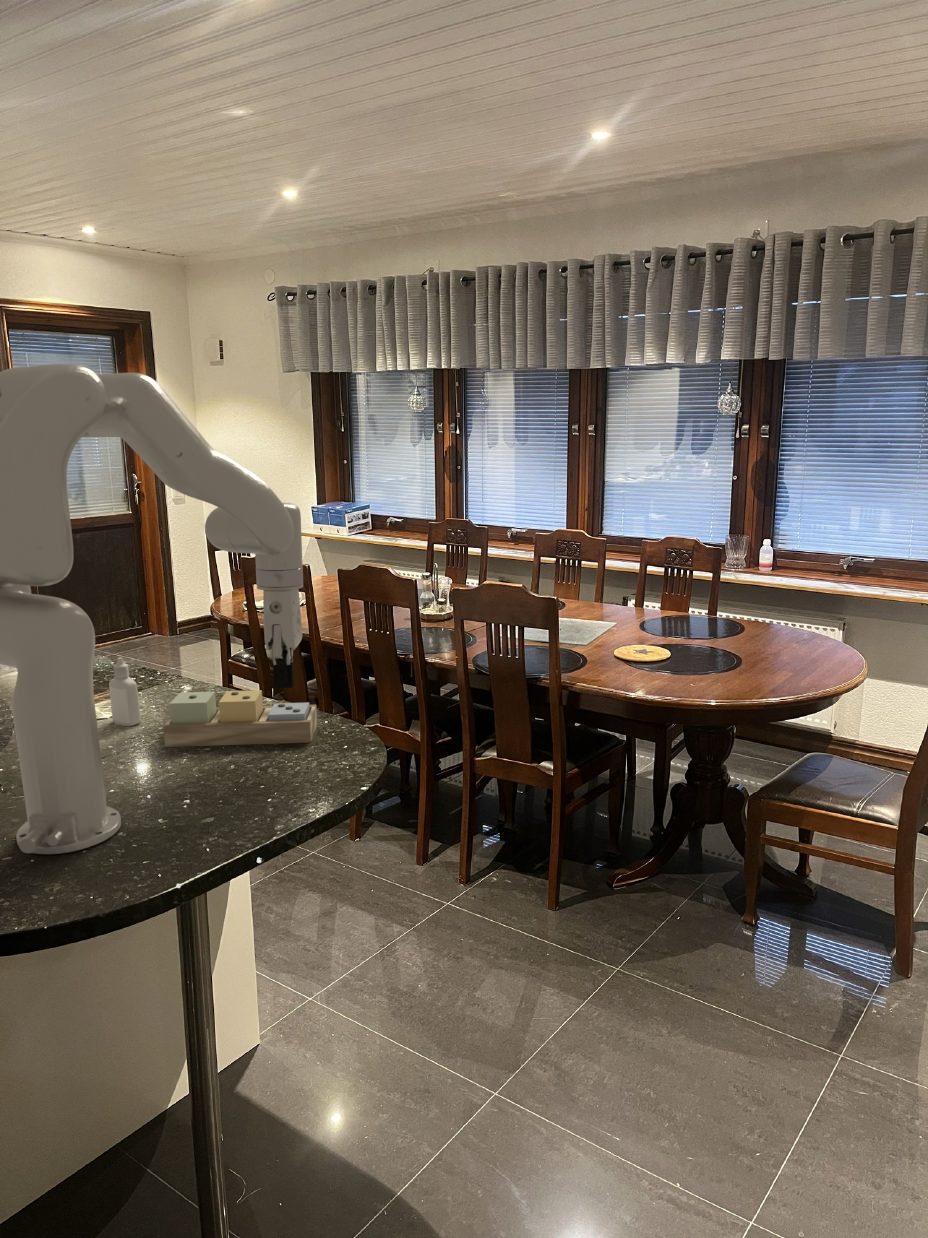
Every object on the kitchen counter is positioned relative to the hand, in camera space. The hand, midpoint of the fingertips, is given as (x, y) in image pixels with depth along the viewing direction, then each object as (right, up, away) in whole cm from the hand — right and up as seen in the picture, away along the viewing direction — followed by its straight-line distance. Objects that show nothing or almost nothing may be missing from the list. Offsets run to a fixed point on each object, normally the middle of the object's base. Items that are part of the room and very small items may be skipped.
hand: (284, 686), depth 150 cm
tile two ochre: (-7, -5, +2) cm, 9 cm away
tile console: (-7, -9, +2) cm, 12 cm away
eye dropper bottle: (-30, -7, +10) cm, 33 cm away
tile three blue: (+1, -8, +2) cm, 8 cm away
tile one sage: (-15, -6, +1) cm, 17 cm away
